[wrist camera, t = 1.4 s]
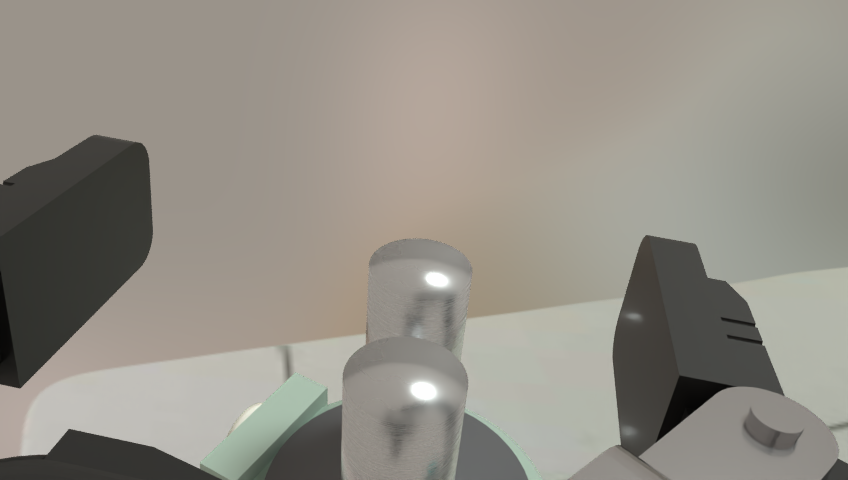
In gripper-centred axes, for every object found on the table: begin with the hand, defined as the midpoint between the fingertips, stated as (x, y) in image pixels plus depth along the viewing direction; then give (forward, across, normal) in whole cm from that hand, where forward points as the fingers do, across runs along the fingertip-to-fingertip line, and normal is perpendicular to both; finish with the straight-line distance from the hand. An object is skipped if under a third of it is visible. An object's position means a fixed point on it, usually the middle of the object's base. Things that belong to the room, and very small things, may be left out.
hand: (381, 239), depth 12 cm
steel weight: (+10, 0, +20) cm, 23 cm away
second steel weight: (+17, 0, +20) cm, 26 cm away
